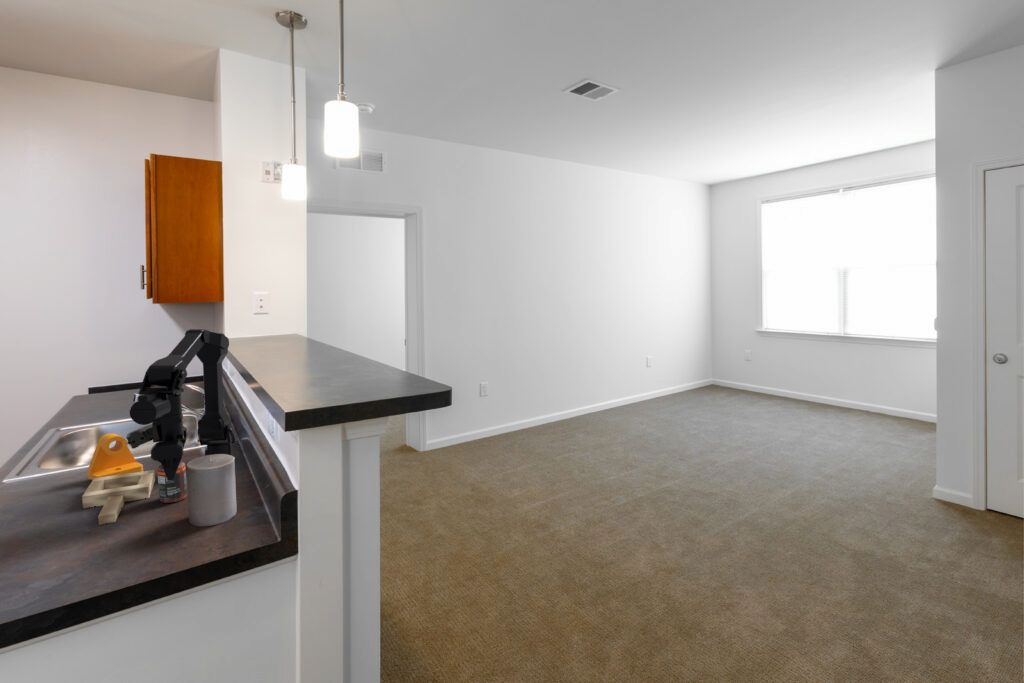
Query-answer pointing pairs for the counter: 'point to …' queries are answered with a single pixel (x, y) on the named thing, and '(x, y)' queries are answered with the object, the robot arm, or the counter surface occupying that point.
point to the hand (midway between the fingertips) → (172, 474)
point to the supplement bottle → (172, 485)
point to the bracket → (112, 458)
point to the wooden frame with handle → (117, 493)
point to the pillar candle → (211, 489)
